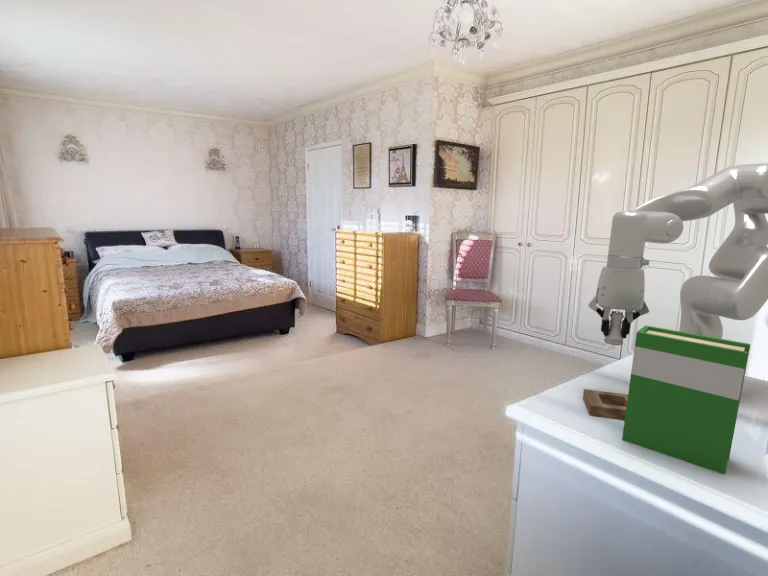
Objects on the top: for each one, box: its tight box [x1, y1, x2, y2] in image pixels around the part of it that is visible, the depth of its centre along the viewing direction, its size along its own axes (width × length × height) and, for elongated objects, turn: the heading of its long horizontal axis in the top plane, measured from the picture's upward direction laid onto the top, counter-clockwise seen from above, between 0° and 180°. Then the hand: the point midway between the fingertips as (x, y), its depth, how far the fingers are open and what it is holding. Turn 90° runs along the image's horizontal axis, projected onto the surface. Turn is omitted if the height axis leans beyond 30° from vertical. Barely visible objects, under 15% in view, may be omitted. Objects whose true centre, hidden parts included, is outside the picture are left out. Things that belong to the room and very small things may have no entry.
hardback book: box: [621, 325, 751, 476], centre depth 89 cm, size 18×7×24 cm, turn 47°
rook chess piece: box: [603, 310, 625, 346], centre depth 110 cm, size 4×4×8 cm
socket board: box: [582, 388, 628, 421], centre depth 108 cm, size 16×10×2 cm, turn 75°
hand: (614, 335), depth 110 cm, fingers closed on rook chess piece, 3 cm apart
